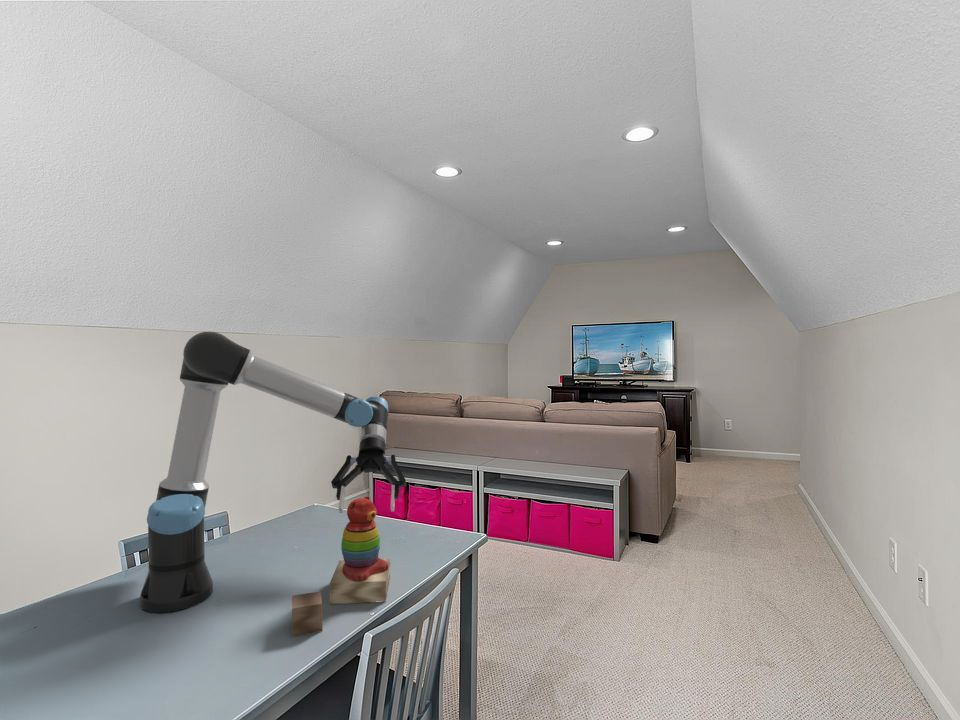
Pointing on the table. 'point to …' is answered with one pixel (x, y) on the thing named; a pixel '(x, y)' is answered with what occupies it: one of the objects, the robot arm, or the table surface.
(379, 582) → the maple block
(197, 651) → the table surface
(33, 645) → the table surface
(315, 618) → the walnut cube
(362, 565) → the stacking bear
